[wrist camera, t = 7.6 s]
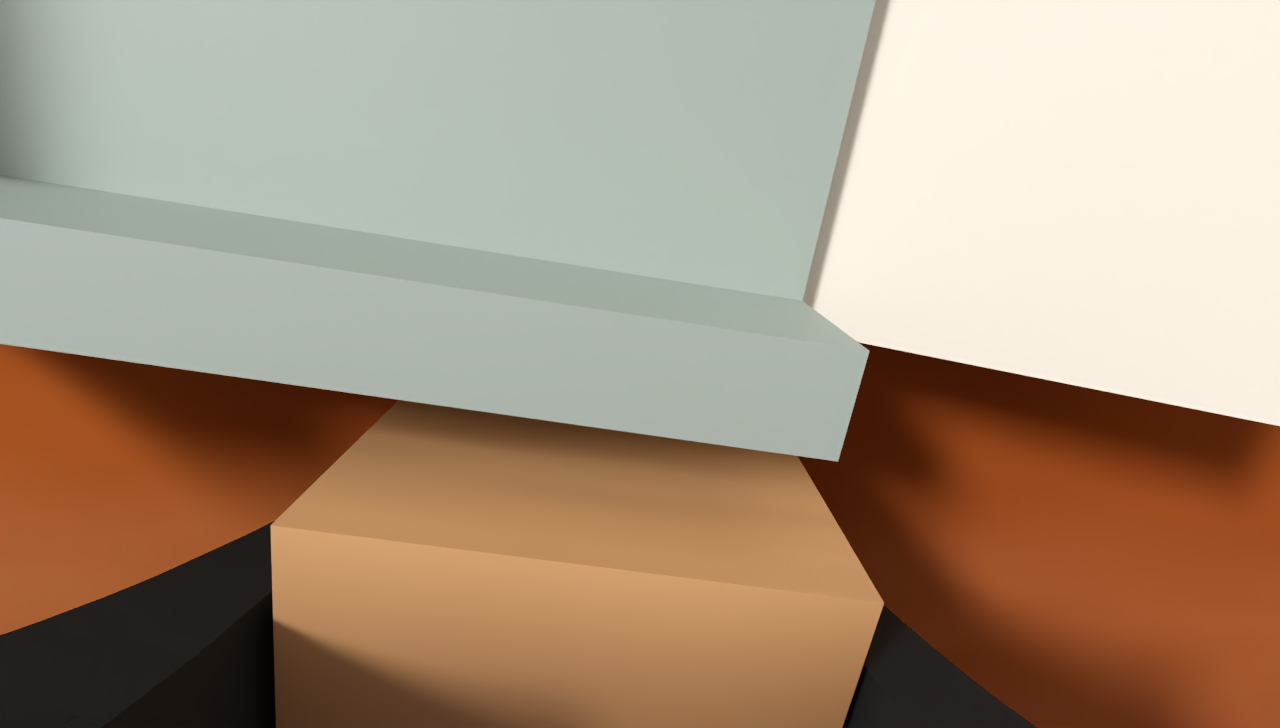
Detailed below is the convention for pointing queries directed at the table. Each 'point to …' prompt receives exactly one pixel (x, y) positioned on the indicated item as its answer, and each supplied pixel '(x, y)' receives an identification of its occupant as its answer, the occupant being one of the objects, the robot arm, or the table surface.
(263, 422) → the table surface
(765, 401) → the bed
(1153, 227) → the panel
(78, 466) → the table surface
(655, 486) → the block
